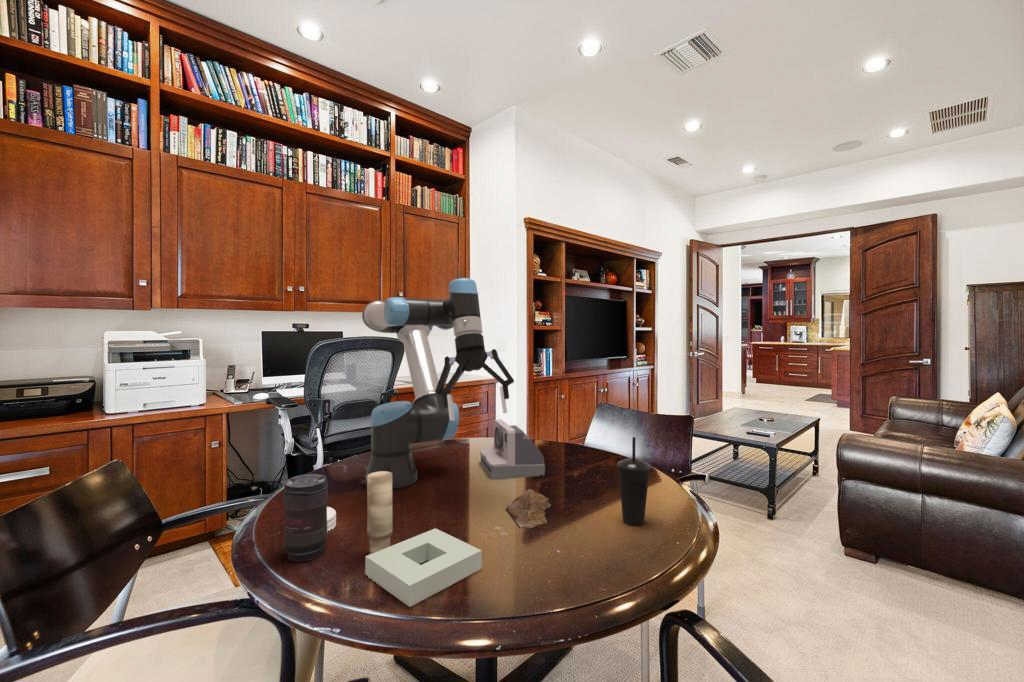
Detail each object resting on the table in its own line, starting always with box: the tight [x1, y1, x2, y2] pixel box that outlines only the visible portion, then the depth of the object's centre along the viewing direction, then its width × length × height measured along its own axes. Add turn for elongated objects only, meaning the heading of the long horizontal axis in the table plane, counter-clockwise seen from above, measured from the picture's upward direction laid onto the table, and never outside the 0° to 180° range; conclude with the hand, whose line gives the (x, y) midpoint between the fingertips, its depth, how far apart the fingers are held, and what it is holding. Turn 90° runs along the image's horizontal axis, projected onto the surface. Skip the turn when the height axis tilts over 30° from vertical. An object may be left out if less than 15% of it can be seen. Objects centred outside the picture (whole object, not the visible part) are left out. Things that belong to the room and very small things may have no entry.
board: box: [364, 527, 483, 608], centre depth 82 cm, size 14×16×4 cm
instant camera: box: [479, 419, 546, 481], centre depth 146 cm, size 21×21×15 cm
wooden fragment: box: [505, 488, 552, 530], centre depth 114 cm, size 26×11×1 cm, turn 171°
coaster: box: [327, 506, 337, 533], centre depth 101 cm, size 10×10×4 cm
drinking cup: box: [616, 436, 652, 527], centre depth 105 cm, size 8×8×20 cm
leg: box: [366, 471, 394, 555], centre depth 89 cm, size 5×5×16 cm
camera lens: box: [282, 473, 329, 562], centre depth 89 cm, size 8×8×15 cm
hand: (478, 416), depth 112 cm, fingers open, 13 cm apart
